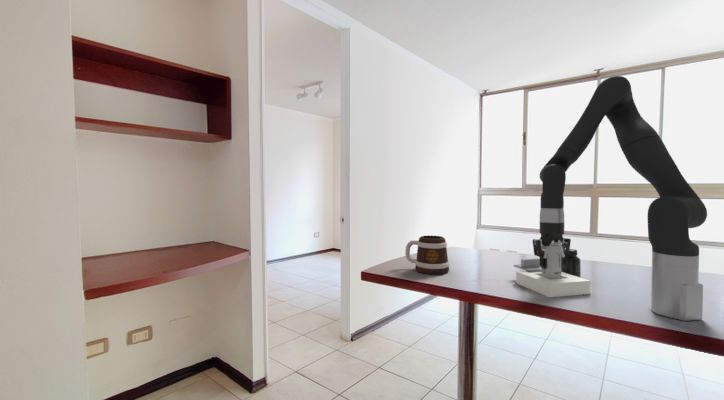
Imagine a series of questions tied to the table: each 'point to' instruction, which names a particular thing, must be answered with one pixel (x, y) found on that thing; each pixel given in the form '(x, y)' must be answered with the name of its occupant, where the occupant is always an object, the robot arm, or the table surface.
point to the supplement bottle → (572, 264)
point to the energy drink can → (553, 262)
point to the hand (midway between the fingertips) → (551, 267)
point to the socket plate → (553, 284)
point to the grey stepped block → (530, 264)
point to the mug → (430, 255)
